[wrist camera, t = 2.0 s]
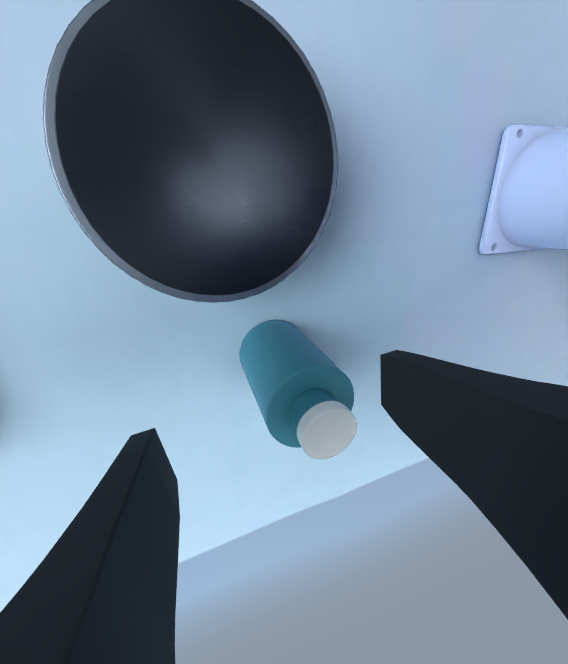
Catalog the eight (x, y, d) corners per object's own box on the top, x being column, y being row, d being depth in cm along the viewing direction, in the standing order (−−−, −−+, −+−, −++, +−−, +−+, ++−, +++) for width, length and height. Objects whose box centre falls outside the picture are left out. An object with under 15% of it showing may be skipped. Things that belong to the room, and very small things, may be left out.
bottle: (303, 315, 19) (381, 377, 12) (304, 374, 21) (372, 460, 13) (236, 325, 18) (275, 401, 10) (243, 386, 19) (281, 490, 12)
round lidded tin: (295, 64, 14) (348, -7, 10) (299, 272, 18) (339, 290, 13) (52, 37, 11) (-31, -80, 7) (119, 291, 15) (93, 321, 11)
